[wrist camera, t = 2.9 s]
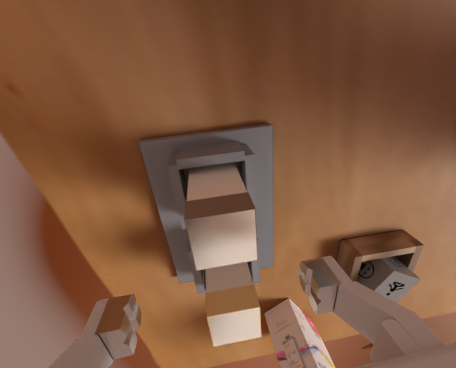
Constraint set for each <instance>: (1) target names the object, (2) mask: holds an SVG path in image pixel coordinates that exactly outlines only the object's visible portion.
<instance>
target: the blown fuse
mask: <svg viewBox="0 0 456 368" xmlns="http://www.w3.org/2000/svg"><path fill="white" fill-rule="evenodd" d="M184 222H185V226H186V230H187V235H188V239H189V243H190V248H191V252H192V256H193V260H194V265H195V269H196V271H199V270H205V269H211V268H217V267H222V266H228V265H234V264H240V263H246V262H251V261H257V260H258V250H257V228H256V208H255V206H254V204H253V202H252V199H251V197H250V195H249V193H248V192H247V190H246V188H245V186H244V184H243V181H242V179H241V177H240V175H239V172H238V170H237V168H236V165H235V163H234V162H230V163H223V164H216V165H208V166H201V167H194V168H189V178H188V190H187V201H186V203H185V214H184Z"/></svg>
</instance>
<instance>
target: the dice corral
mask: <svg viewBox="0 0 456 368" xmlns="http://www.w3.org/2000/svg"><path fill="white" fill-rule="evenodd" d="M423 247H424V245H423V244H422V243H421V242H419V241H418V240H417V239H415V238H414V237H412V236H411V235H410V234H408V233H407V232H406V231H404V230H399V231H393V232H388V233H382V234H376V235H370V236H364V237H358V238H353V239H347V240H341V241H340V246H339V251H338V256H337V263H338V264H339V266H340V267H341V268H342V269H343V270H344V272H345V273H346V274H347V275H348V277H349V278H350V279H351V280H352V281H353V282H354V281H357V277H358V274H359V270H360V266H361V262H364V261H370V260H375V259H381V258H386V257H392V256H395V257H396V258H398V259H399V260H400V261H401V262H402V263H403V264H404V265H405V266H406V267H408V268H409V269H410V270H411V271H412V272H413V270H414V268H415V266H416V263H417V261H418V258H419V256H420V254H421V251H422V249H423Z"/></svg>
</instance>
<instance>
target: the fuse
mask: <svg viewBox="0 0 456 368" xmlns="http://www.w3.org/2000/svg"><path fill="white" fill-rule="evenodd" d="M205 274H206V313H207V321H208V325H209V329H210V333H211V338H212V342H213V346H214V347H215V346H220V345H225V344H230V343H235V342H240V341H245V340H250V339H255V338H260V337H261V316H260V305H259V301H258V298H257V294H256V290H255V287H254V285H253V282H252V278H251V275H250V271H249V267H248V264H247V262H246V263H240V264H234V265H228V266H222V267H217V268H211V269H205Z"/></svg>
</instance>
